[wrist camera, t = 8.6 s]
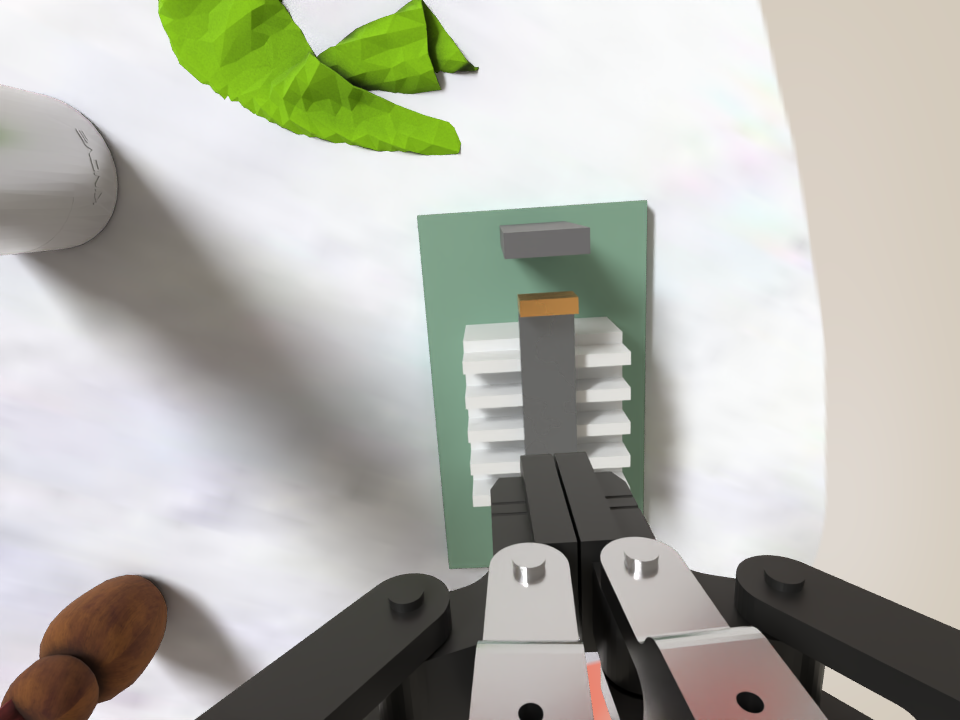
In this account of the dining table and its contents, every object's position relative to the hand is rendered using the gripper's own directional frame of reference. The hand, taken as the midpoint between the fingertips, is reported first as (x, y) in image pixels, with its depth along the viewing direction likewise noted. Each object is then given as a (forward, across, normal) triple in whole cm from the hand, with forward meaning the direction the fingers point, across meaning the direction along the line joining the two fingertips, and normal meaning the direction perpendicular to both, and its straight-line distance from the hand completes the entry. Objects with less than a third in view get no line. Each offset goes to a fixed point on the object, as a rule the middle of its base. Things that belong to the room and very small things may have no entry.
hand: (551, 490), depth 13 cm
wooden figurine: (+26, +29, +22) cm, 44 cm away
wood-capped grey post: (+18, -2, +8) cm, 19 cm away
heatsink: (+25, -2, +7) cm, 26 cm away
